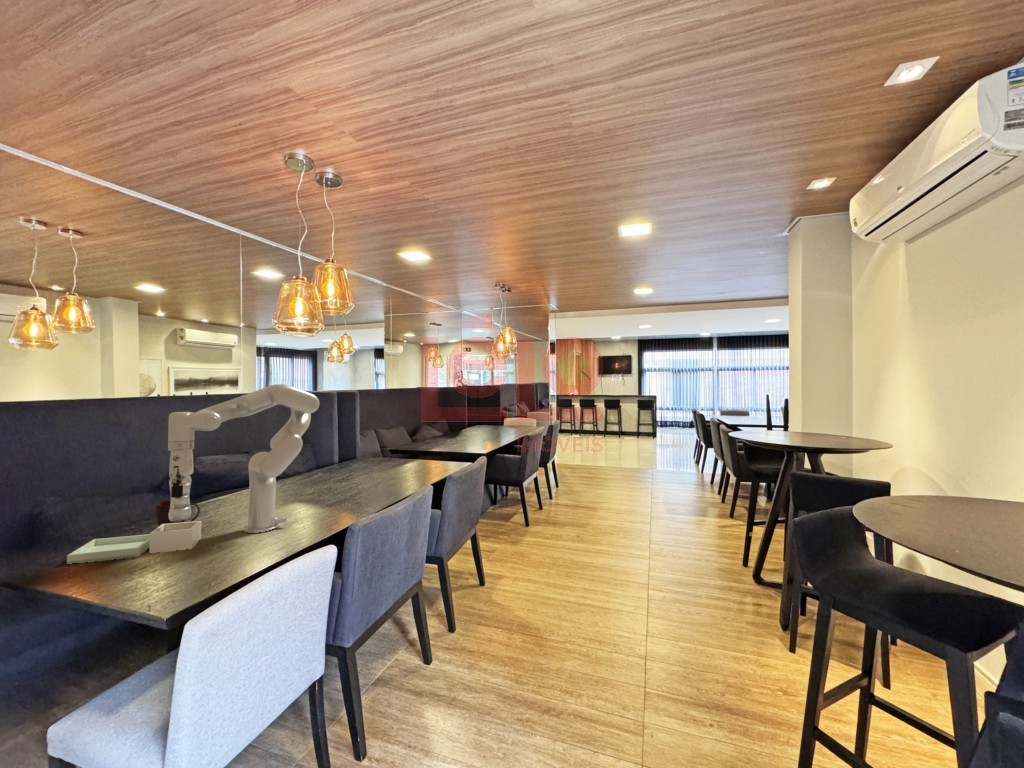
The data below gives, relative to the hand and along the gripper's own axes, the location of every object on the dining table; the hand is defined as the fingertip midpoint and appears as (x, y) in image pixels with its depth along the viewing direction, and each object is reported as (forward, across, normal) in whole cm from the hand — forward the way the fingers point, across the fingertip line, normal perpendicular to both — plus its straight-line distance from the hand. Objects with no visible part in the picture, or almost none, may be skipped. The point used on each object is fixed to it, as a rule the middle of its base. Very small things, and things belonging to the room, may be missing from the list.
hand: (180, 494), depth 150 cm
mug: (+19, +19, +6) cm, 27 cm away
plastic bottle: (+10, 0, 0) cm, 10 cm away
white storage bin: (+19, 0, +1) cm, 19 cm away
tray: (+18, 0, +18) cm, 25 cm away
